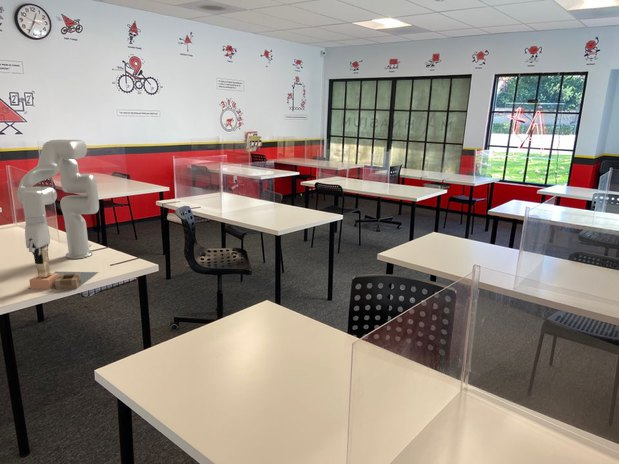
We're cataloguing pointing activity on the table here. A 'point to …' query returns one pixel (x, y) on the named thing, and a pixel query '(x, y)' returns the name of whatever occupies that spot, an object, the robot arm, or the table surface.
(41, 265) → the beige wooden post
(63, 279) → the brown square ring
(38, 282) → the salmon pink square box
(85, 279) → the charcoal mat
